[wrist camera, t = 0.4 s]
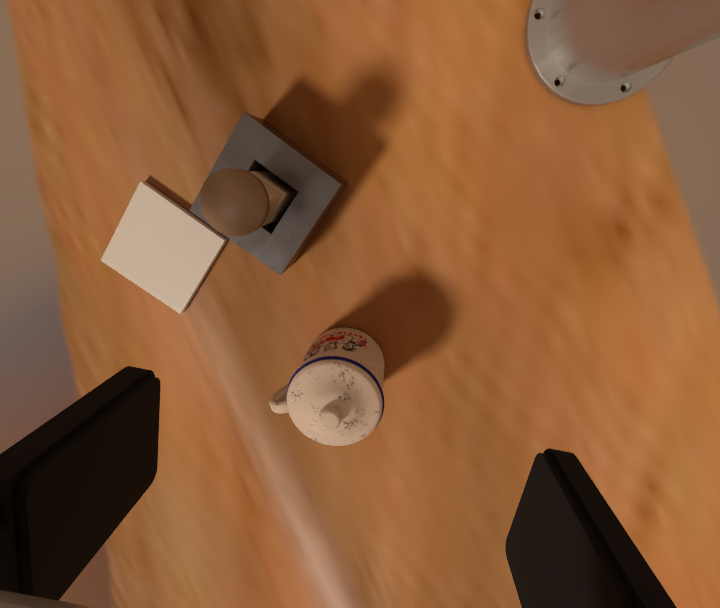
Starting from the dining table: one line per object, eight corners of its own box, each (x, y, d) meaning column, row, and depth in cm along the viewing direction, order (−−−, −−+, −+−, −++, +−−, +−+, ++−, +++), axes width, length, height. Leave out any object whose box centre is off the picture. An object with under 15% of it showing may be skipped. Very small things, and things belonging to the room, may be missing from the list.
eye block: (262, 119, 40) (244, 112, 35) (348, 183, 41) (341, 184, 36) (212, 206, 43) (189, 210, 38) (293, 263, 44) (280, 275, 39)
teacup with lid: (372, 314, 45) (362, 360, 34) (397, 387, 47) (396, 453, 36) (270, 343, 47) (230, 396, 36) (299, 412, 49) (269, 482, 38)
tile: (145, 181, 43) (140, 181, 42) (227, 239, 44) (224, 240, 43) (105, 259, 45) (100, 260, 45) (184, 311, 47) (180, 314, 46)
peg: (271, 159, 41) (220, 154, 29) (311, 189, 41) (277, 195, 30) (246, 200, 42) (188, 210, 31) (286, 228, 43) (243, 249, 31)
